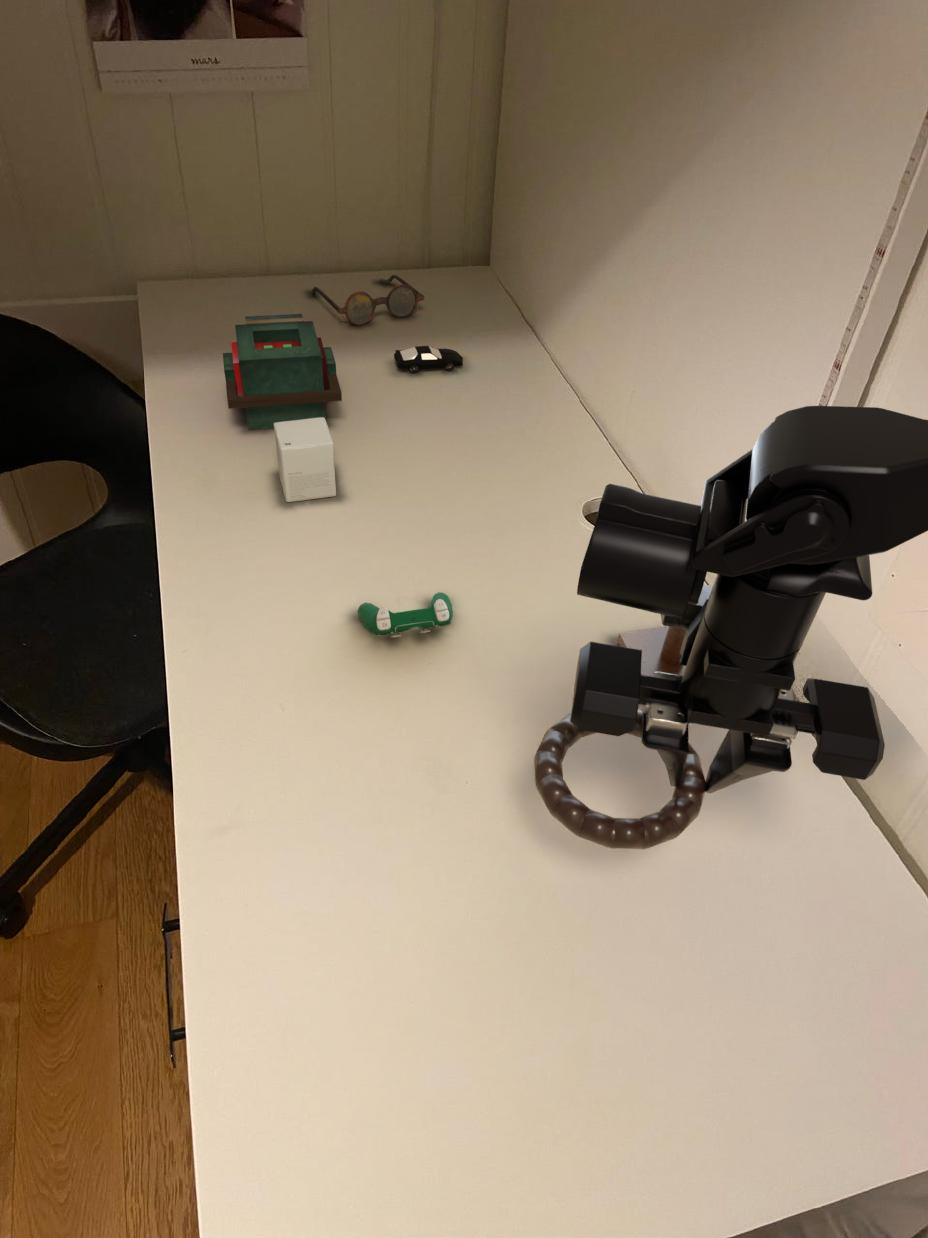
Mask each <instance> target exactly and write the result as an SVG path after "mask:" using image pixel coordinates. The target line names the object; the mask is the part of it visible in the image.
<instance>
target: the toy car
mask: <svg viewBox="0 0 928 1238" xmlns="http://www.w3.org/2000/svg"><path fill="white" fill-rule="evenodd" d="M394 351H395V353H393V358H394V361H395V364H396V367H397V369H399V370H406V371H409V372H410V373H411V374H414V375H415V374H418V373H419V371H426V370H427V371H428V370H444V369H445V370H446V371H447V372H451V371H453V370H454V369H455V367H463V366H464V363H463V362H464V358H463V356H461V354H460V353H459V352H458V351H457V350H454V349H452V348H451V349H450V348H435V347H433V346H430V345H418V346H413V347H410V348H407V349H394Z"/></svg>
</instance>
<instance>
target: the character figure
mask: <svg viewBox="0 0 928 1238" xmlns="http://www.w3.org/2000/svg"><path fill="white" fill-rule="evenodd" d="M244 320H245V324H235V325H234V327H235V337H236V341H231V342H230V344H231V345H230V346H231V352H223V353H222V361H223V371H224V378H225V379H224V380H225V388H226V401H227V407H228V409H229V410H230V409H245V414H246V415H245V416H246V421H247V427H248V428H247V429H248V431H250V432H251V431H262V430H274V423H276V422H284V421H293V420H302V419H310V418H321V417H324V418H325V420H326V421H327V415H326V403H330V402H331V403H332V402H342V401H343V399H342V390H341V386H340V382H339V379H338V375H337V363H336V359H335V356H334V351H333V349H332V346H325V347H324V344H323V341H322V338H321V336H320V337H318V335H317V333H316V327H315V325H314V321H313V320H307V321H306V320H304V317H303V313H292V314H289V313H288V314H273V315H272V314H269V315H251V316H249V315H248V316H244Z"/></svg>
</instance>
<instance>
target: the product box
mask: <svg viewBox="0 0 928 1238" xmlns="http://www.w3.org/2000/svg"><path fill="white" fill-rule="evenodd" d="M273 430H274V439H275V448H276V455H277V465H278V474H279V480H280V485H281V490H282V491H283V496H284V499H285V502H286V503H295V502H302V501H309V500H316V499H325V498H333V497H336V496H337V485H336V484H337V483H336V471H335V470H336V469H335V452H334V451H335V450H334V440H333V438H332V435H331V431H330V428H329V426H328V422H327V419H326V420H325V418H324V417H321V418H310V419H302V420H293V421H284V422H276V423H274V429H273Z"/></svg>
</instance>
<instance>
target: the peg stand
mask: <svg viewBox="0 0 928 1238" xmlns="http://www.w3.org/2000/svg"><path fill="white" fill-rule="evenodd" d="M685 634H686V631H685V630H684V629H682V628H676V627H670V626H660V627H655V628H648V629H647V628H646V629H641V630H633V631H627V632H619V633H618V635H617V640H616V641H617V644H618V645H617V646H621V647H627V648H633V649H639V650H642V660H641V675H645V676H651V677H653V674H654V672H664V673H670V674H676V675H681V676H683V674H684V671H685V668H686V666H683V665H680V650H681V646H682V643H683V640H684V637H685Z"/></svg>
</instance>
